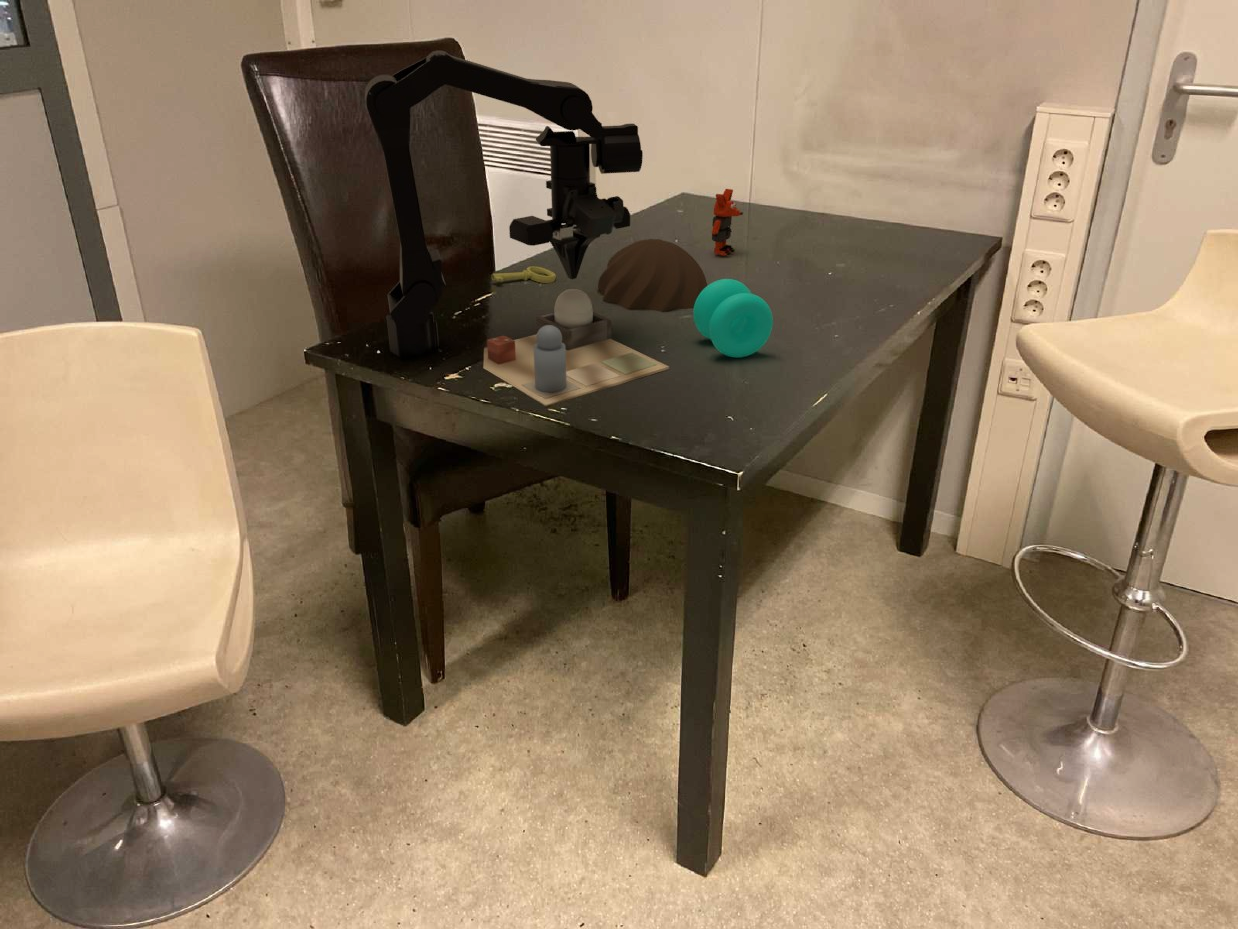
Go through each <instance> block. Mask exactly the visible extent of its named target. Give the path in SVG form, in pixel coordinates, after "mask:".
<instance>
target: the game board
mask: <svg viewBox="0 0 1238 929" xmlns="http://www.w3.org/2000/svg"><path fill="white" fill-rule="evenodd" d="M546 325H552V326H555V327H557V328H558V329H559V330H560V332H561V334H562V343H564V344H565V349H566V384H567V386H566V388H565V389H564V390H562V391H559V392H553V393H547V392H541V391H539V390H537V389H536V387H535V367H534V345H535V344H536V343H537V341H536V335H537V332H538V331H539V329H540V328H542V327H543V326H546ZM486 345H487V346H486V347H484V348H483V369H484V370H486V371H487V372H490V373H491V374H493V375H494V376H496V377H498V378H499V379H501V380H502V381H504V382H505V383H506V384H509V385H510V386H512V387H514V388H515V389H517V390H519V391H520V392H522V393H523V394H525V395H527V396H528V397H530V398H531V399H533V400H535V401H536V402H538V403H540V404H542V405H543V406H545V407H546V406H550V405H551V406H552V405H555V404H557V403H560V402H564V401H567V400H571V399H574V398H577V397H581V396H584V395H588V394H591V393H594V392H599V391H602V390H605V389H609V388H612V387H615V386H619V385H622V384H624V383H629V382H633V381H635V380H638V379H642V378H644V377H648V376H651V375H655V374H656V373H661V372H664V371H667V370H669V369H670V366H669V365H667V364H664V363H663V362H660V361H658V360H657V359H654V358H652V357H649V356H648V355H645V354H644V353H641V352H639V351H637V350H635V349H634V348H631V347H628V346H627V345H624V344H623V343H620V342H618V341H616V340H614V339H612V319H609V318H607V317H605V316H602V315H600V314H598V313H596V312H594V311H593V323H591V324H587V325H583V326H580V327H576V328H572V329H567V328H564V327H562V326H560V325H558V324H556V323H555V316H554V312H551V313H547V314H543V315H539V316H536V334H533V335H529V336H525V337H522V338H518V339H517V338H516V339H512V338H510V337H508V336H506V335H500V336H496V337H492V338H489V339H486Z"/></svg>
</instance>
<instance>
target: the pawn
mask: <svg viewBox="0 0 1238 929" xmlns="http://www.w3.org/2000/svg"><path fill="white" fill-rule="evenodd" d="M536 334H537V335H536ZM536 334H535V335H536V341H537V343H536V344H535V345H534V367H535V387H536V389H537V390H539V391H541V392H547V393H553V392H559V391H562V390H564V389H565V388H566V386H567V384H566V349H565V344H564V343H562V334H561V332H560V330H559V329H558V328H557V327H555V326H552V325H546V326H543V327H542V328H540V329H539V331H538V332H537V331H536Z"/></svg>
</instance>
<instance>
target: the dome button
mask: <svg viewBox="0 0 1238 929" xmlns="http://www.w3.org/2000/svg"><path fill="white" fill-rule="evenodd" d="M593 308H594V307H593V306H592V300H591V299H590V297H589V295H588V294H587V293H586V292H585V291H583V290H580V289H579V288H578V289H577V288H570V289H566V290H564V291H562V292H561V293H560V294H559V295H558V297H557V298H556V301H555V303H554V307H553V310H554V312H553V313H554V316H555V323H556V324H558V325H560V326H562V327H564V328H567V329H572V328H576V327H580V326H583V325H587V324H591V323H593V312H594V310H593Z"/></svg>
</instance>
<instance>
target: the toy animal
mask: <svg viewBox="0 0 1238 929" xmlns="http://www.w3.org/2000/svg"><path fill="white" fill-rule="evenodd" d="M733 192H734V190H733V188H731V189H730V188H725V189H724V191H723V194H721V193H716V194H715V200H716V201H715V204H714V206H713V207H714V208H713V215H714V217H713V218H712V230H711V240H712V241H713V242H715V243H714V246H715V247H714V248H713V254H716V255H719V256H730V255H731V253H735V249H734V247H732V245H731V244H730V245H729V244H727V240H729V239H730V238H731V236H732V228H731V225H732V218H733V217H739V216H742V215H743V214H744V212H742V211H741V212H740V210H739V209H738V208H737V207H736V206H737V204H736V203H735V202H734V201H733V200H731V199H732V197H733Z"/></svg>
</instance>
